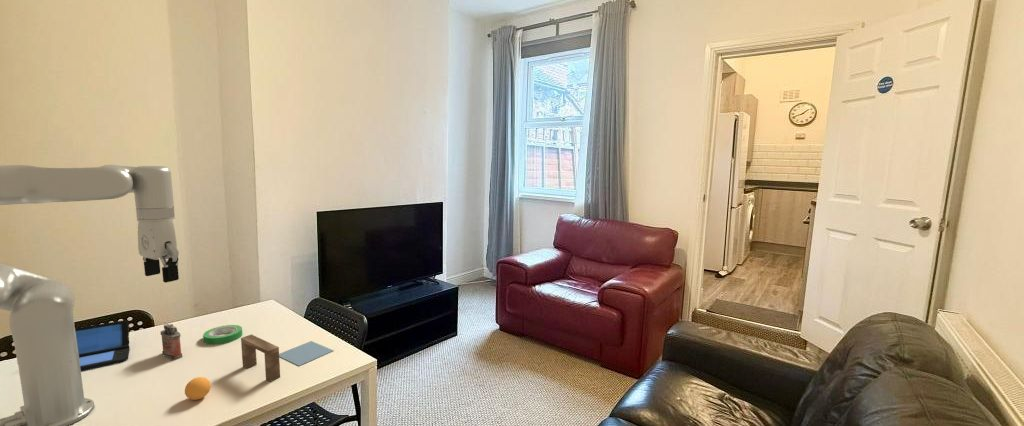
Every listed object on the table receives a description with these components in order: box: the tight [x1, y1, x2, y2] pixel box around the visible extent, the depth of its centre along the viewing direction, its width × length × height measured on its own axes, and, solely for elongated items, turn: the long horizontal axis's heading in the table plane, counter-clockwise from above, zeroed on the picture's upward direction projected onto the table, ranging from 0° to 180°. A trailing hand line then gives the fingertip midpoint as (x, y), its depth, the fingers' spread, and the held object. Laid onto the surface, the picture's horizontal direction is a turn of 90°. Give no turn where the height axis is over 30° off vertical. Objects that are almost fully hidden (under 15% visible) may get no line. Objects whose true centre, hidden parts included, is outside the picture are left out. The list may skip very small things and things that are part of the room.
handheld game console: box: [75, 320, 131, 372], centre depth 126 cm, size 16×13×9 cm
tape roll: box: [202, 324, 243, 346], centre depth 144 cm, size 11×11×3 cm
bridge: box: [240, 334, 281, 382], centre depth 123 cm, size 3×14×9 cm, turn 59°
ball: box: [184, 376, 212, 401], centre depth 109 cm, size 6×6×6 cm
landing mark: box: [279, 340, 335, 367], centre depth 135 cm, size 12×12×1 cm
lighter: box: [160, 323, 183, 361], centre depth 130 cm, size 8×3×10 cm, turn 62°
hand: (161, 277), depth 110 cm, fingers open, 9 cm apart
